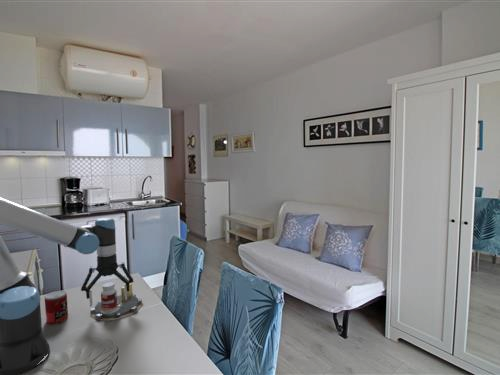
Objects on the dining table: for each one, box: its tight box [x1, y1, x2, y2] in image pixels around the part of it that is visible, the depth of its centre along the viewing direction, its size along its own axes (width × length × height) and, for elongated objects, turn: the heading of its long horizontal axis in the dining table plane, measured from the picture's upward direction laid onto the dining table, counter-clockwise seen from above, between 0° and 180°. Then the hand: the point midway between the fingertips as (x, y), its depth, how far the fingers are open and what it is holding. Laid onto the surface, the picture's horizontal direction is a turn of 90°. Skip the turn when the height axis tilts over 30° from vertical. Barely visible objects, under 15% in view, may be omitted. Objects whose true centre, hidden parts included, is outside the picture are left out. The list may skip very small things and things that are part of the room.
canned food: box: [44, 290, 69, 325], centre depth 121 cm, size 8×8×11 cm
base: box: [90, 302, 143, 321], centre depth 131 cm, size 21×21×1 cm
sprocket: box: [90, 283, 143, 319], centre depth 130 cm, size 21×21×8 cm
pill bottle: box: [100, 281, 118, 312], centre depth 125 cm, size 6×6×11 cm
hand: (108, 301), depth 125 cm, fingers open, 13 cm apart
